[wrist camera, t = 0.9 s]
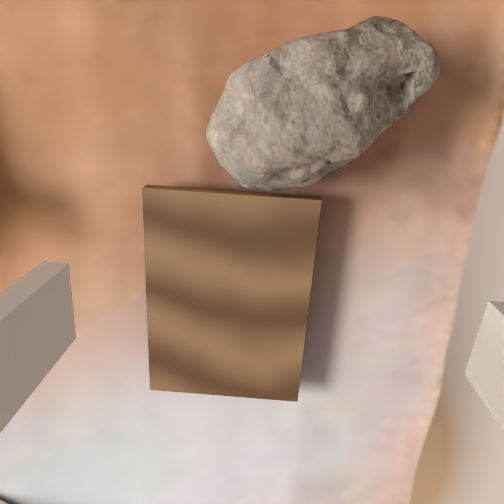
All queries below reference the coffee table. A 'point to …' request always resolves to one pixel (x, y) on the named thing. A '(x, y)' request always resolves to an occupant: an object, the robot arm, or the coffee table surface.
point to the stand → (228, 289)
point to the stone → (318, 102)
